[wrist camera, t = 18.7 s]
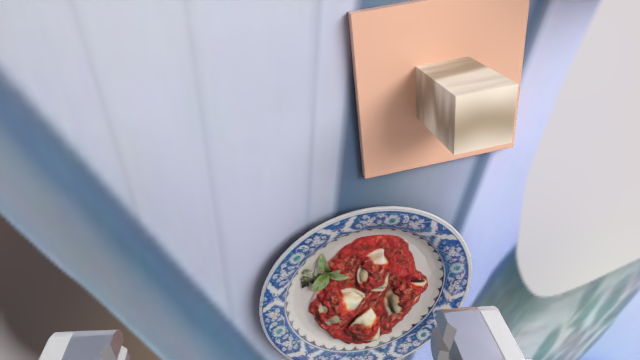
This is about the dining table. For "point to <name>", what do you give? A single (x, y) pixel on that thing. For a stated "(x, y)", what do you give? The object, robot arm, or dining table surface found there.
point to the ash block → (465, 104)
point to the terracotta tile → (419, 49)
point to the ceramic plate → (365, 285)
